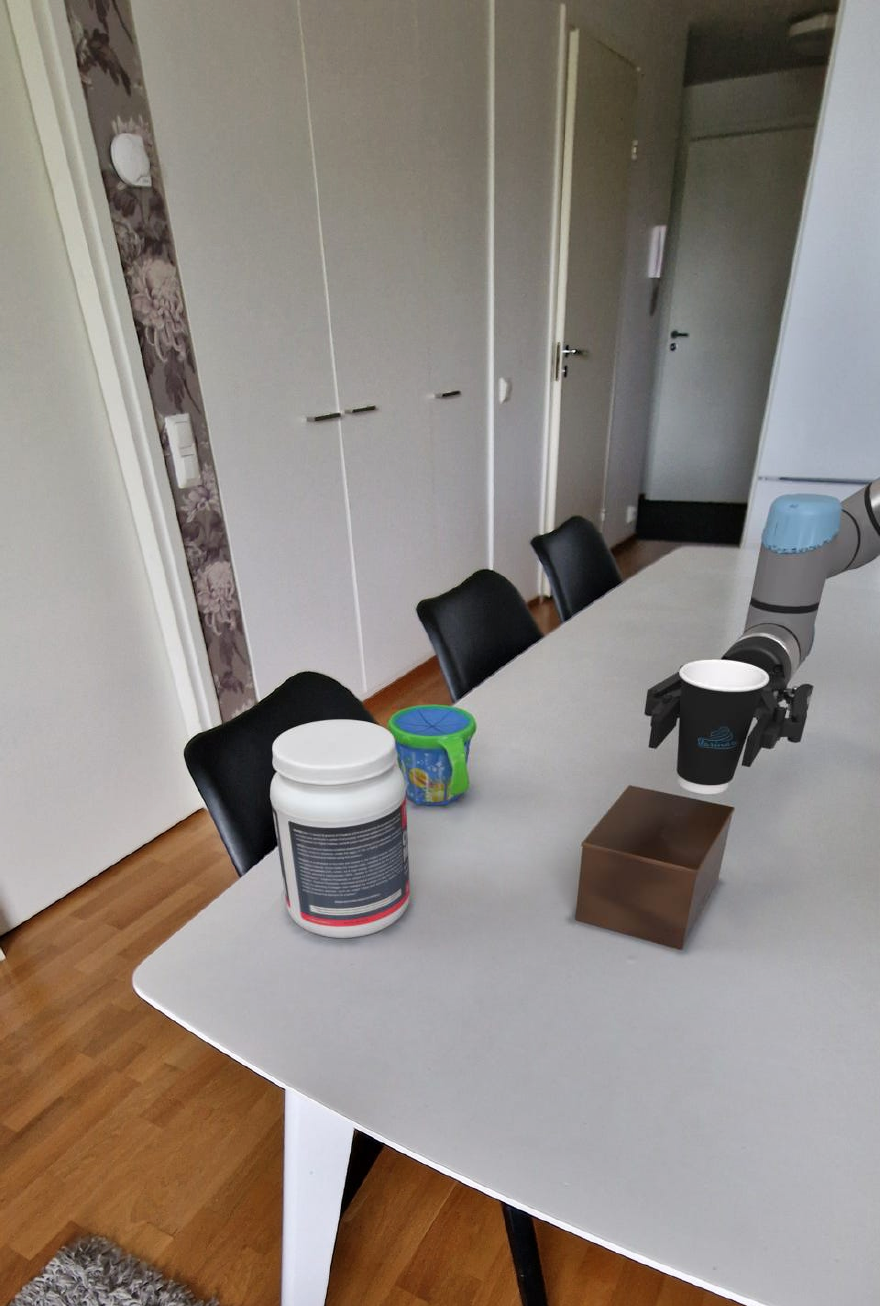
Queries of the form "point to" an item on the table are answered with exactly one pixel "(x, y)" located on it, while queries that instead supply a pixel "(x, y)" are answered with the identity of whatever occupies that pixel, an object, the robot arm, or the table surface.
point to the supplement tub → (341, 827)
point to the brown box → (652, 865)
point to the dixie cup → (715, 721)
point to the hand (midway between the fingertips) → (700, 743)
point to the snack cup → (433, 751)
